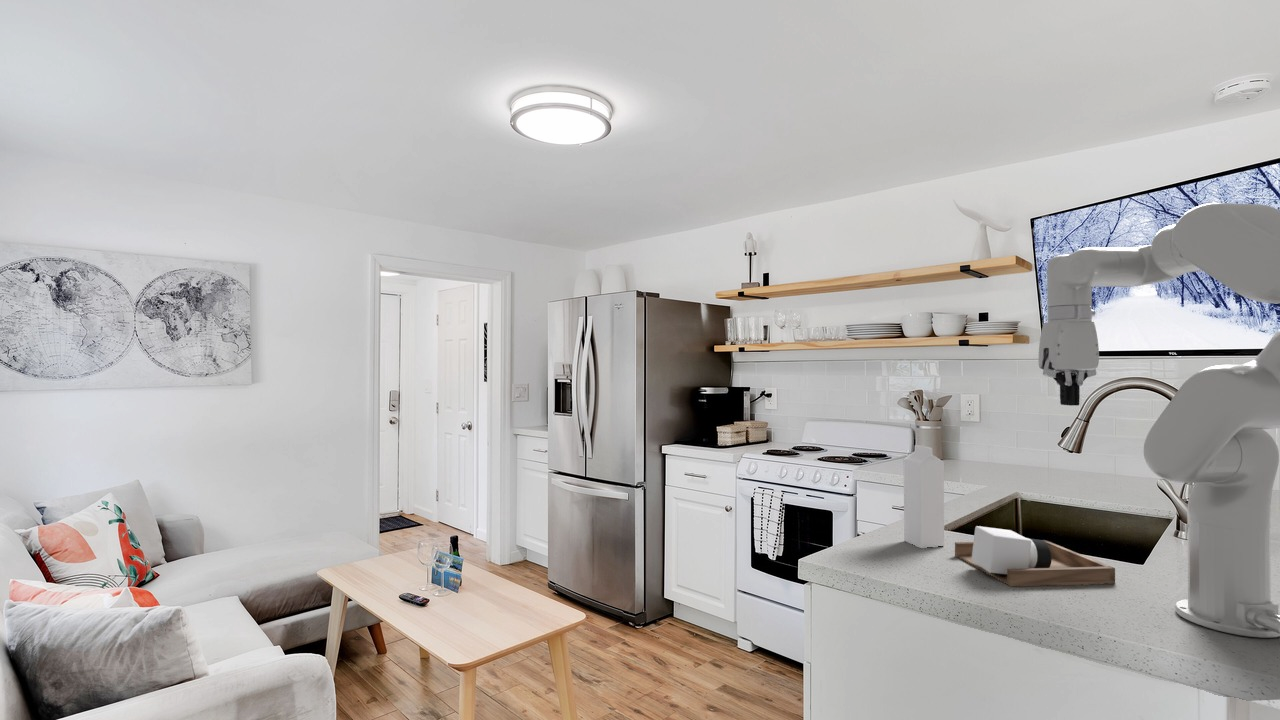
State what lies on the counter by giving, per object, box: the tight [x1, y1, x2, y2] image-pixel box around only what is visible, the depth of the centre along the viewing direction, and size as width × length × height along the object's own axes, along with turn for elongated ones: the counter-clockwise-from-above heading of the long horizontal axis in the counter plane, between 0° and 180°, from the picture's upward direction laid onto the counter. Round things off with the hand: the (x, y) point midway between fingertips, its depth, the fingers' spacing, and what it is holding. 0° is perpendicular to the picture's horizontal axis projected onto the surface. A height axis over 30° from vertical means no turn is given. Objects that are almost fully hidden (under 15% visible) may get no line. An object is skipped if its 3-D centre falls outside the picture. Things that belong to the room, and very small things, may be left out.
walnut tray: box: [954, 539, 1116, 587], centre depth 123 cm, size 18×20×3 cm
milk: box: [903, 444, 945, 549], centre depth 141 cm, size 6×6×22 cm
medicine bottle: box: [971, 525, 1052, 575], centre depth 120 cm, size 7×7×12 cm
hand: (1069, 404), depth 128 cm, fingers closed
